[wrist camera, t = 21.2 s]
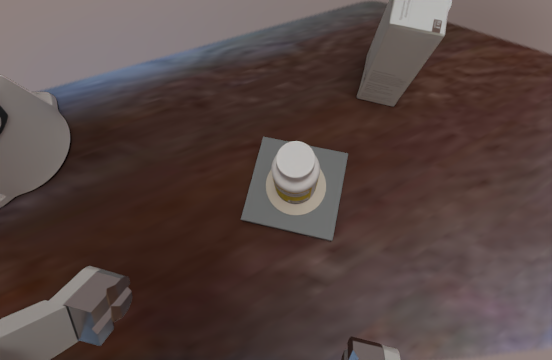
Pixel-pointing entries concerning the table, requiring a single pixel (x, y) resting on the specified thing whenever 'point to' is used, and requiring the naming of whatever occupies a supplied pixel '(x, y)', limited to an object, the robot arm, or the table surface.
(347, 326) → the table surface
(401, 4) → the skincare box
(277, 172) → the supplement bottle
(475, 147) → the table surface
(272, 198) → the board
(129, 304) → the robot arm
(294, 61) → the table surface
